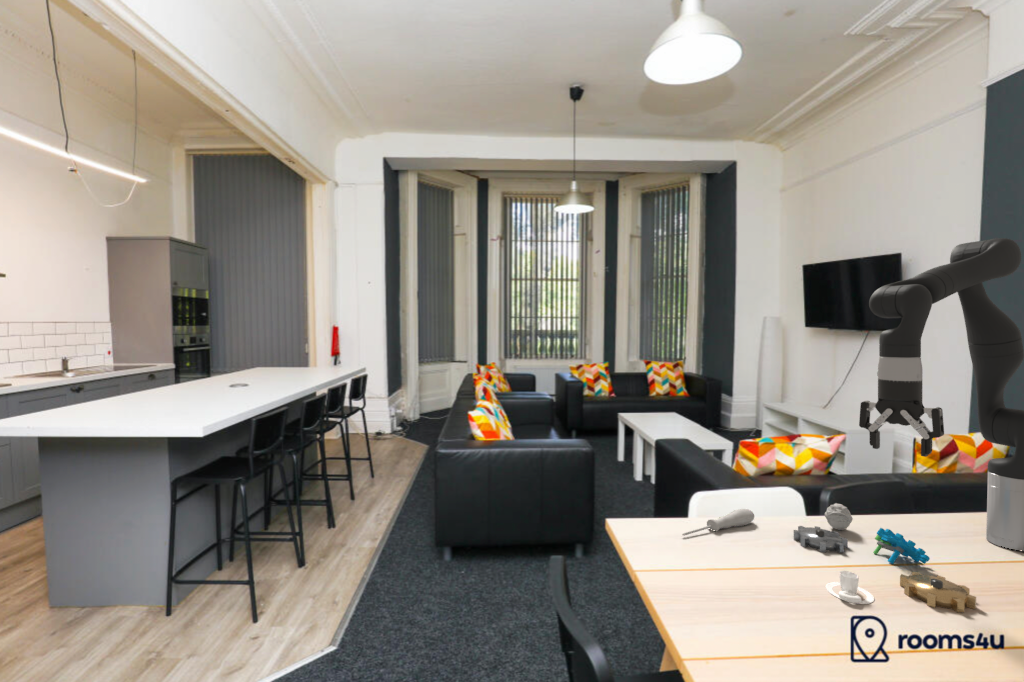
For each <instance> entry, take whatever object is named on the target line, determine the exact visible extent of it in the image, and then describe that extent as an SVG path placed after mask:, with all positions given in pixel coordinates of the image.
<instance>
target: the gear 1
mask: <svg viewBox="0 0 1024 682" xmlns="http://www.w3.org/2000/svg"><path fill="white" fill-rule="evenodd" d="M792 539H793V540H795V541H799V543H800V546H802V547H804V548H806V547H807V548H808V547H809V548H811V549H815V550H818V551H819V552H820V553H823V554H825V553H826V552H837V553H839V554H843V553H844V551H845V549H848V545H849V544H848V542H849V541H848V540H849V539H848V538H847V537H842V536H841V535H840V532H837V531H835V530H832V531H831V530H828V529H823V528H821V527H820V526H815V525H814V527H806V526H804V525H799V526H797V529H793V536H792Z"/></svg>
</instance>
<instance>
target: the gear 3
mask: <svg viewBox="0 0 1024 682" xmlns="http://www.w3.org/2000/svg"><path fill="white" fill-rule="evenodd" d="M899 586H900V587H903V588H904V591H903V592H904V593H903V594H905V595H906V596H907V597H912V598H914V597H915V598H917V600H920V601H923V602H924V603H926V606H928V607H931V608H934V609H936V607H939V608H945V609H949V608H952V609H951V610H953V609H954V610H953V611H954V612H956V611H957V612H956V613H959V612H963V613H964V614H965V609H966V608H969V609H973V610H976V609H977V596H975V595H972V594H970V592H971V591H970V588H969V587H968V586H966V585H960V584H959V585H958V584H956V583H954V582H952V581H950V580H947V579H946V577H944V576H941V575H937V576H933V575H928V574H922V573H921V572H919V571H911V574H910V575H906V574H902V573H901V574H900V576H899ZM963 613H962V614H963Z"/></svg>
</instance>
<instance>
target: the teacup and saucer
mask: <svg viewBox="0 0 1024 682" xmlns="http://www.w3.org/2000/svg"><path fill="white" fill-rule="evenodd" d="M859 577H860V576H859V575H858V573H857V574H856V573H855V572H852V571H849V570H841V571H839V581H832V582H828V583H826V585H825V589H826V591H827V592H828V593H829V594H830V595H831V596H834V597H835V598H836V599H837V598H838V599H840V600H842V601H845V602H848V603H850V604H857V605H859V604H860V605H868V604H869V605H870V604H872V603H874V601H875V597H874V595H873V594H872V593H871V592H869V591H868V590H867V589H864V588H862V587H860V586H859V579H860V578H859ZM836 586H837V587H838V586H840V589H841V590H839V591H838V594H837V593H836V592H835V591H834V590H833V588H834V587H836ZM858 591H860V592H861V593H863V594H864V595H865V596H866V598H865V599H864V600H862V597H861V596H860V595H859V594H857V593H858Z"/></svg>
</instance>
